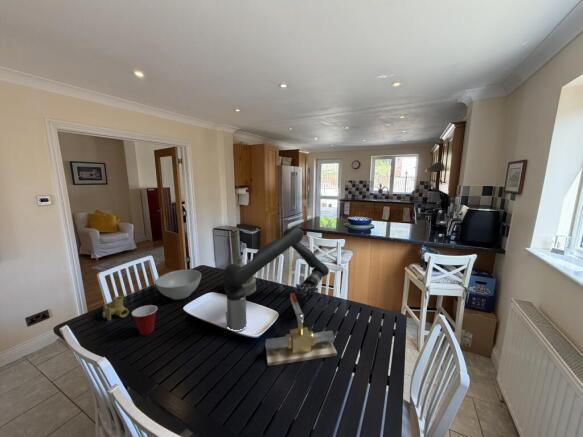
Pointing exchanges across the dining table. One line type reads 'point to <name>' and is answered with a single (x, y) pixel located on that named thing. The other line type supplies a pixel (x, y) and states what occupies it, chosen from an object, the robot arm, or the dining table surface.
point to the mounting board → (287, 356)
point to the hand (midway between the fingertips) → (300, 295)
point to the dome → (250, 284)
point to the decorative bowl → (178, 283)
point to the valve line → (299, 340)
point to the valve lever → (296, 308)
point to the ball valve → (115, 308)
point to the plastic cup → (145, 318)
